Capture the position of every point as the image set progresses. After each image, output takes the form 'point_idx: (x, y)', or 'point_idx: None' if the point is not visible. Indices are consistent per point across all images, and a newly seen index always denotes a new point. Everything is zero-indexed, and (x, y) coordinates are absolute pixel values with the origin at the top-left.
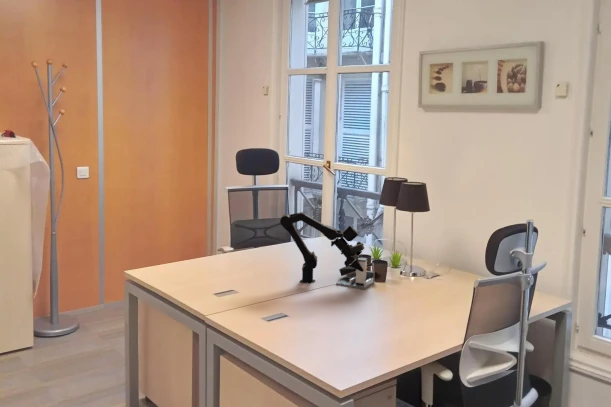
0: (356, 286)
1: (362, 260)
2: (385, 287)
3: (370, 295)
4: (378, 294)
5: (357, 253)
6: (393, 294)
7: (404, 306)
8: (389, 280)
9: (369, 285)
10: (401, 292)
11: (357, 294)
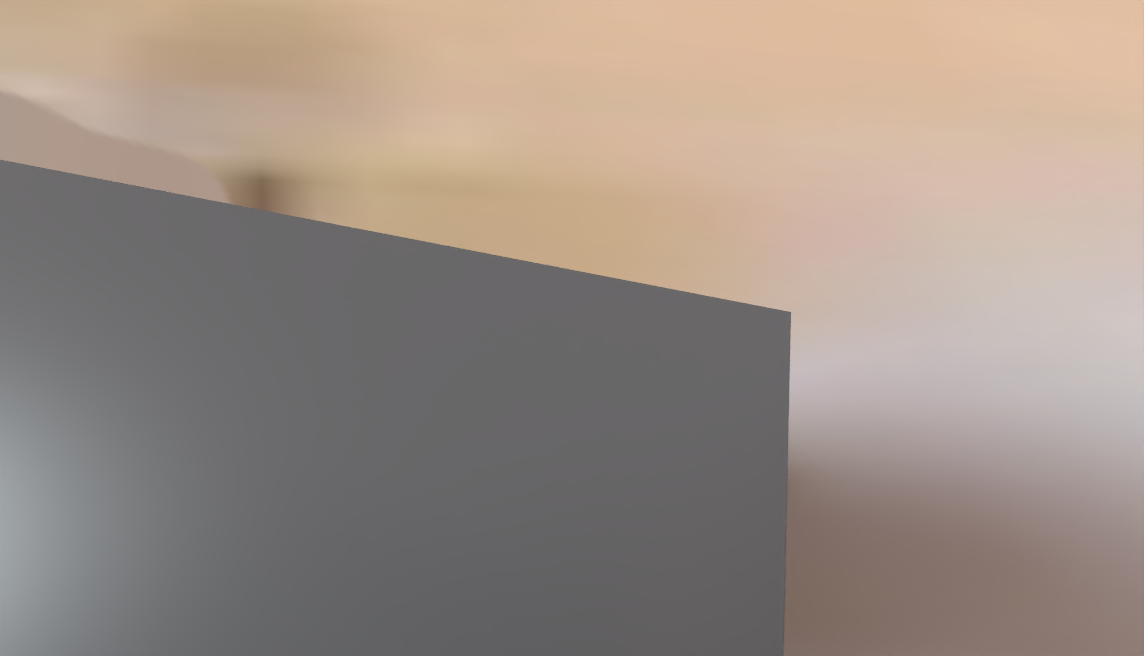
0: None
1: (769, 622)
2: (527, 179)
3: (957, 382)
4: (868, 276)
5: None
6: (797, 111)
7: (1137, 51)
8: (161, 110)
9: None
10: (691, 30)
11: (1001, 588)
